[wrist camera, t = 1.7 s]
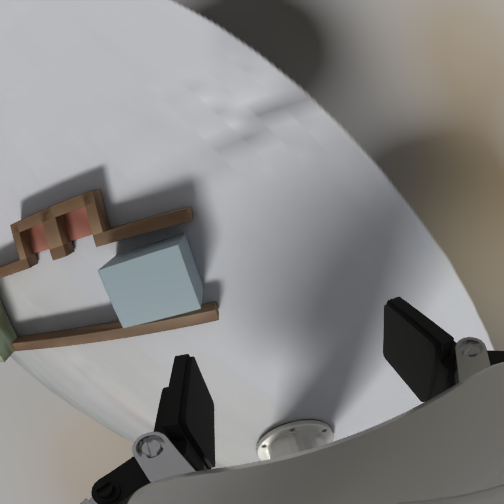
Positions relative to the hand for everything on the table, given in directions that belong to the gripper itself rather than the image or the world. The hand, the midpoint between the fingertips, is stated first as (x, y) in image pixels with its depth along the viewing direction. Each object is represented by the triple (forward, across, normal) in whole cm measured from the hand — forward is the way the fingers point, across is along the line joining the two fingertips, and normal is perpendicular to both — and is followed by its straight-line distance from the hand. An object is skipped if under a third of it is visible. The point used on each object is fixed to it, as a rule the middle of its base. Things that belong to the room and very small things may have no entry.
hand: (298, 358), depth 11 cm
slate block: (+18, +10, 0) cm, 21 cm away
